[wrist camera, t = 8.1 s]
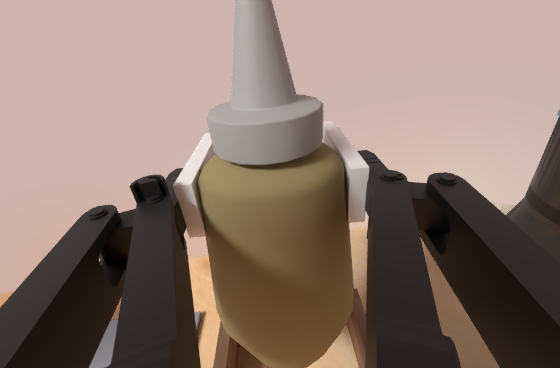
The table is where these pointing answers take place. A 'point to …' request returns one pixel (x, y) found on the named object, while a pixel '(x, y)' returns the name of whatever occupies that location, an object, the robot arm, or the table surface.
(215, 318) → the table surface
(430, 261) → the table surface
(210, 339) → the table surface
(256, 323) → the squeeze bottle
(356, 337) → the walnut tray
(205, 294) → the table surface
